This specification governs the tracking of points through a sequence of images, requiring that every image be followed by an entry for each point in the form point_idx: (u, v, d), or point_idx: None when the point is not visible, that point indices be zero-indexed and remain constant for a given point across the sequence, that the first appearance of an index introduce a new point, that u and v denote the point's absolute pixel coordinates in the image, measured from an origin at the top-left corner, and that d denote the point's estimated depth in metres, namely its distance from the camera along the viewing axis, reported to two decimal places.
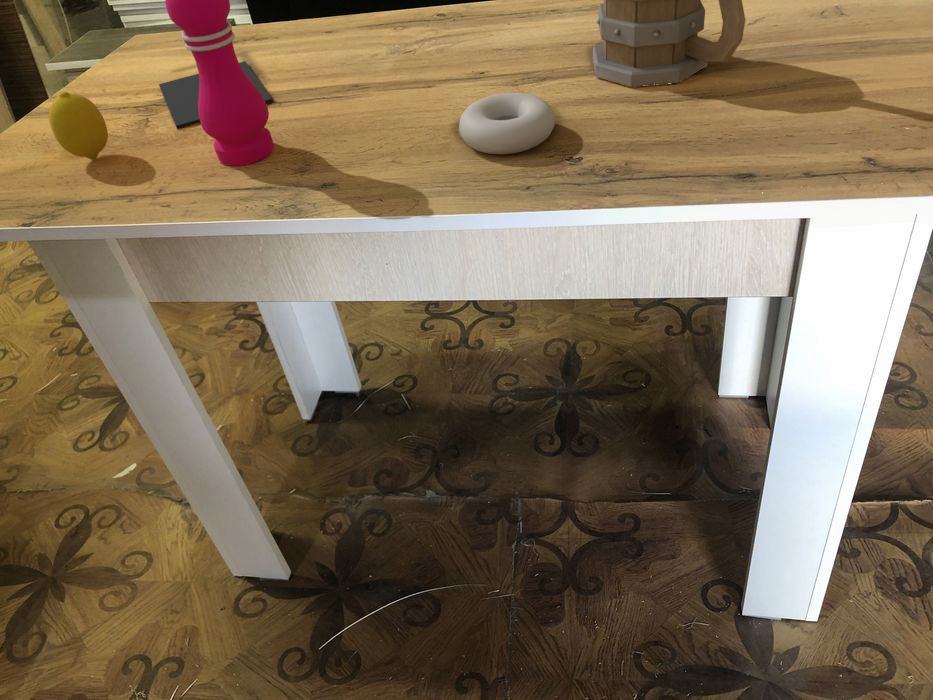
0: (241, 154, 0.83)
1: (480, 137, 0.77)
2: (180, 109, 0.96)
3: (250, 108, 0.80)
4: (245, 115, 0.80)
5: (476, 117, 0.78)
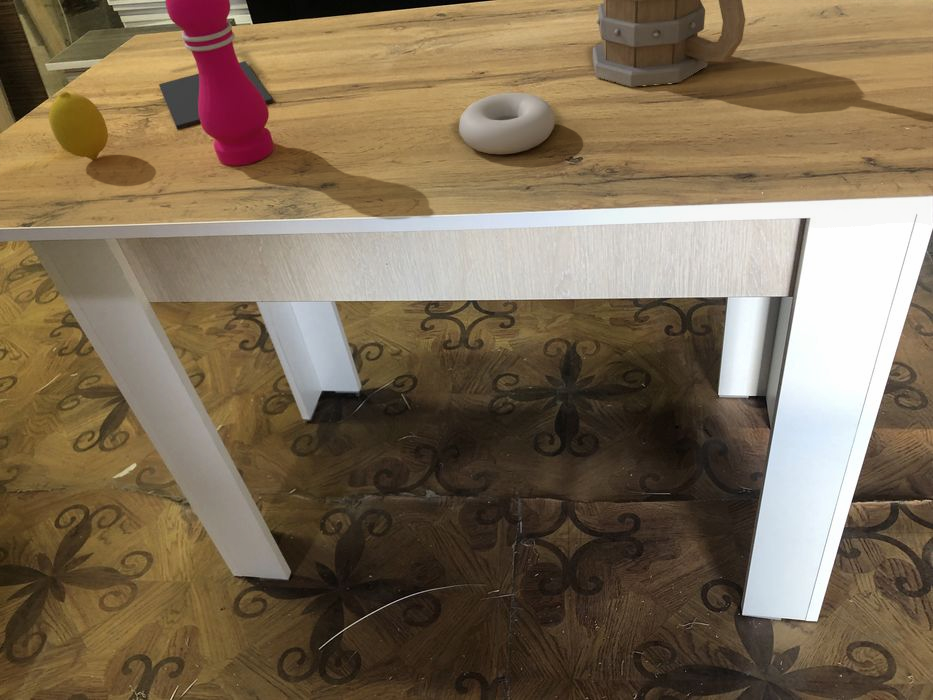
0: (241, 154, 0.83)
1: (480, 137, 0.77)
2: (180, 109, 0.96)
3: (250, 108, 0.80)
4: (245, 115, 0.80)
5: (476, 117, 0.78)
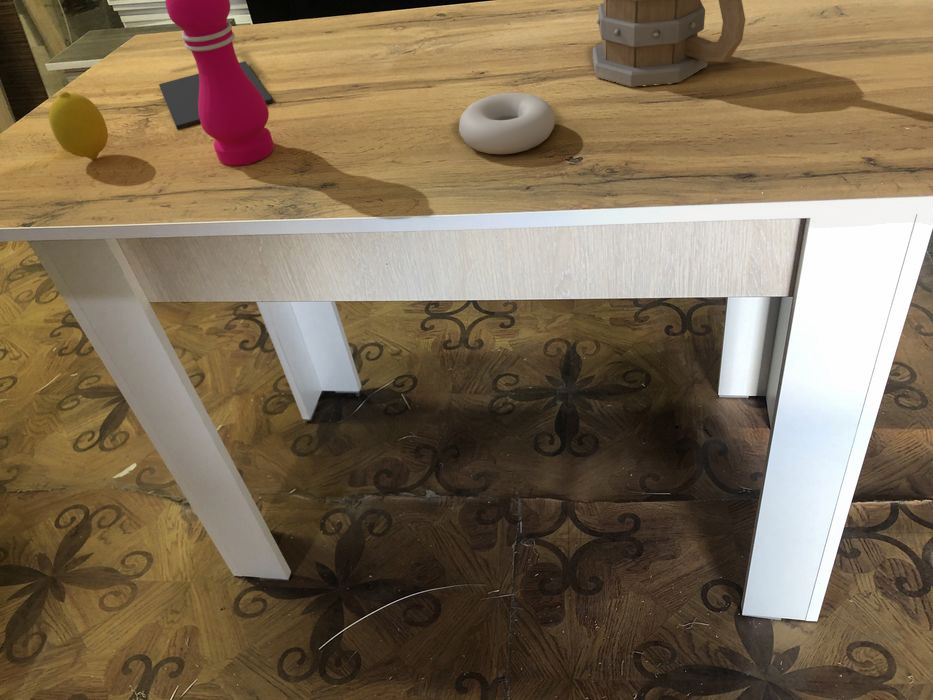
0: (241, 154, 0.83)
1: (480, 137, 0.77)
2: (180, 109, 0.96)
3: (250, 108, 0.80)
4: (245, 115, 0.80)
5: (476, 117, 0.78)
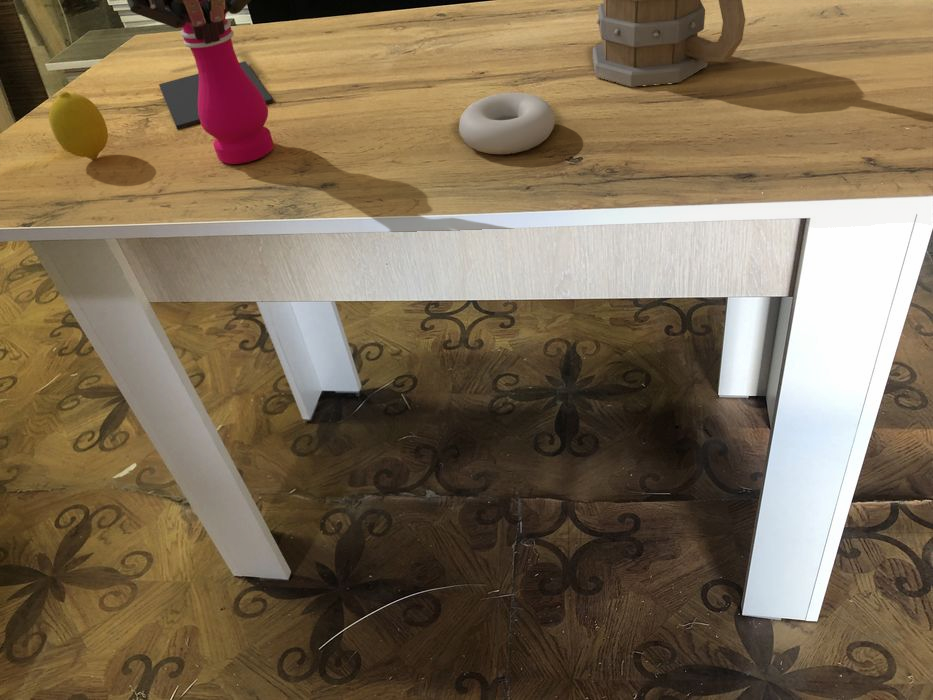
0: (240, 152, 0.83)
1: (480, 137, 0.77)
2: (180, 109, 0.96)
3: (249, 105, 0.80)
4: (244, 112, 0.80)
5: (476, 117, 0.78)
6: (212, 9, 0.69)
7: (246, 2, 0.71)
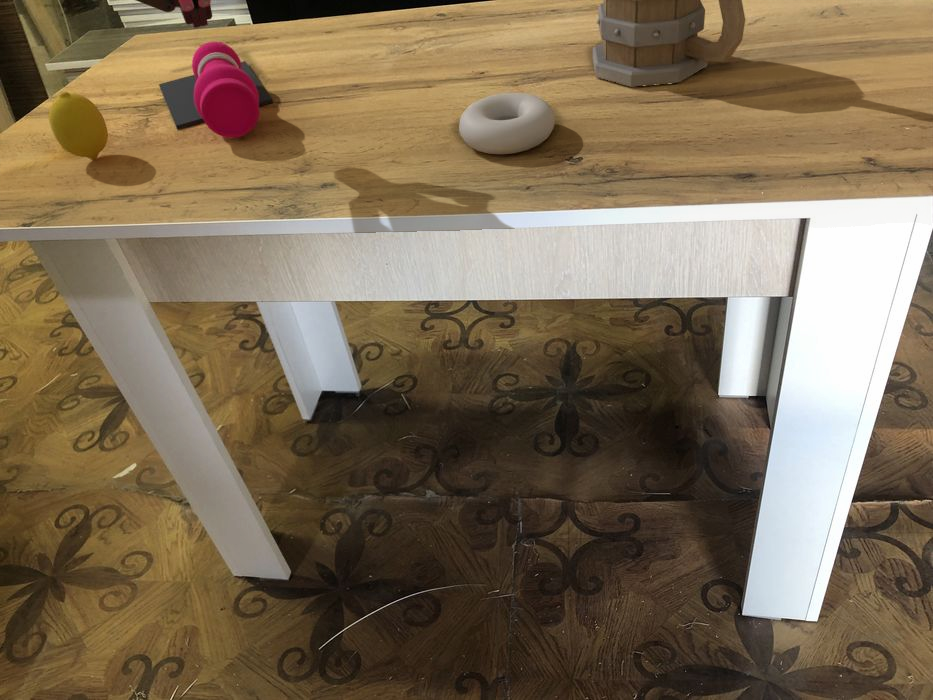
0: (214, 82, 0.85)
1: (480, 137, 0.77)
2: (180, 109, 0.96)
3: (231, 65, 0.89)
4: (224, 64, 0.88)
5: (476, 117, 0.78)
6: None
7: None
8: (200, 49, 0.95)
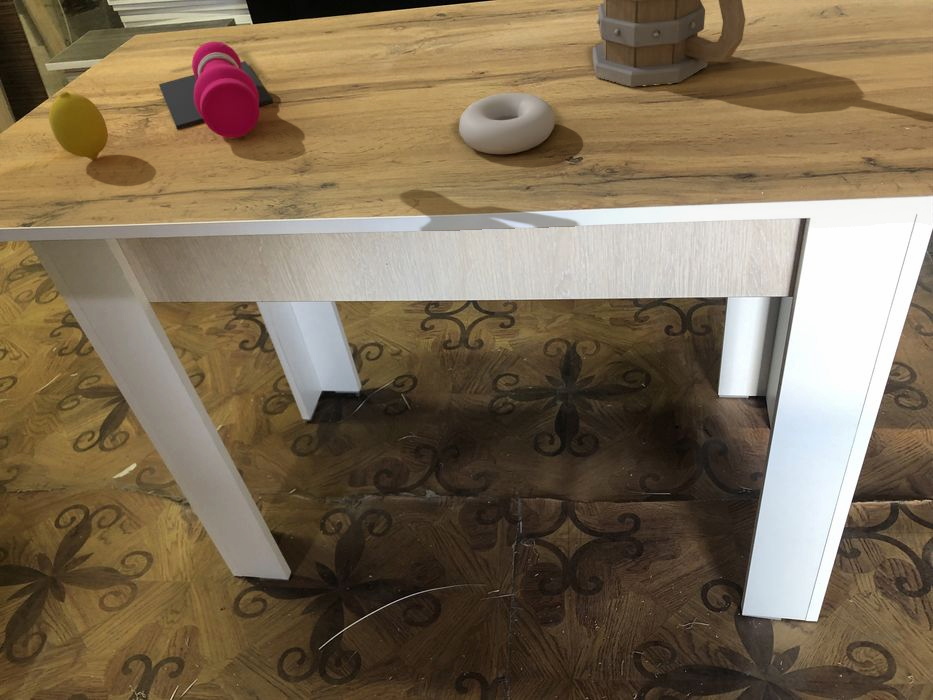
0: (214, 82, 0.85)
1: (480, 137, 0.77)
2: (180, 109, 0.96)
3: (231, 65, 0.89)
4: (224, 64, 0.88)
5: (476, 117, 0.78)
6: None
7: None
8: (200, 49, 0.95)
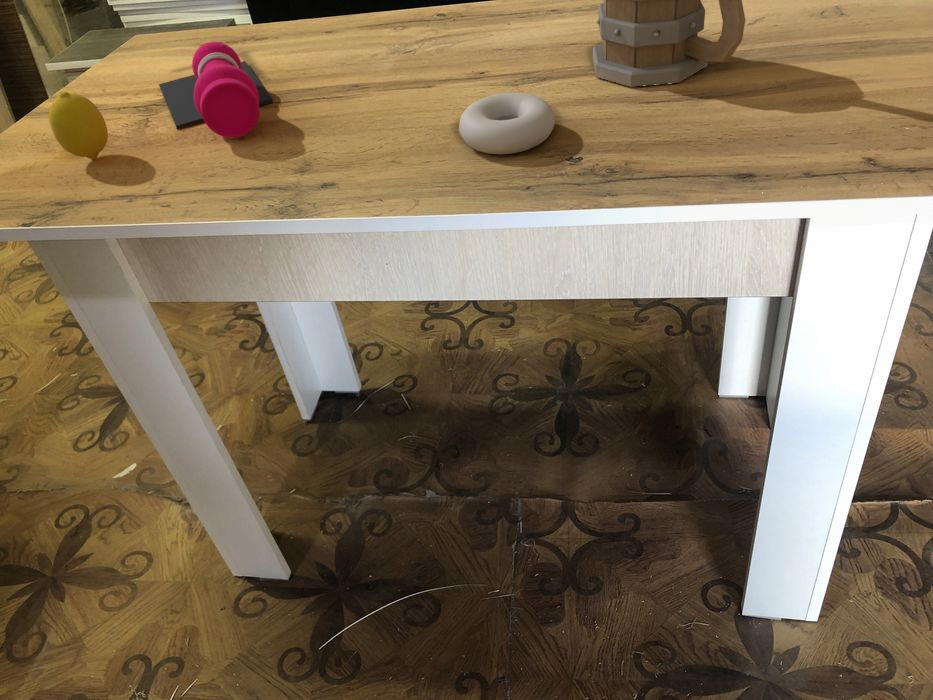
0: (214, 82, 0.85)
1: (480, 137, 0.77)
2: (180, 109, 0.96)
3: (231, 65, 0.89)
4: (224, 64, 0.88)
5: (476, 117, 0.78)
6: None
7: None
8: (200, 49, 0.95)
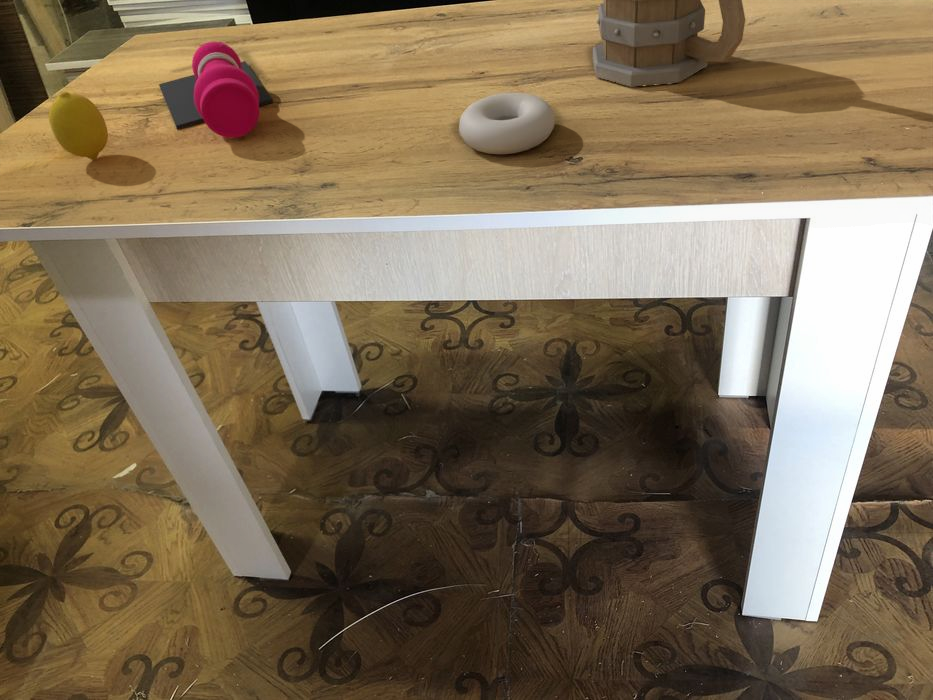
0: (214, 82, 0.85)
1: (480, 137, 0.77)
2: (180, 109, 0.96)
3: (231, 65, 0.89)
4: (224, 64, 0.88)
5: (476, 117, 0.78)
6: None
7: None
8: (200, 49, 0.95)
